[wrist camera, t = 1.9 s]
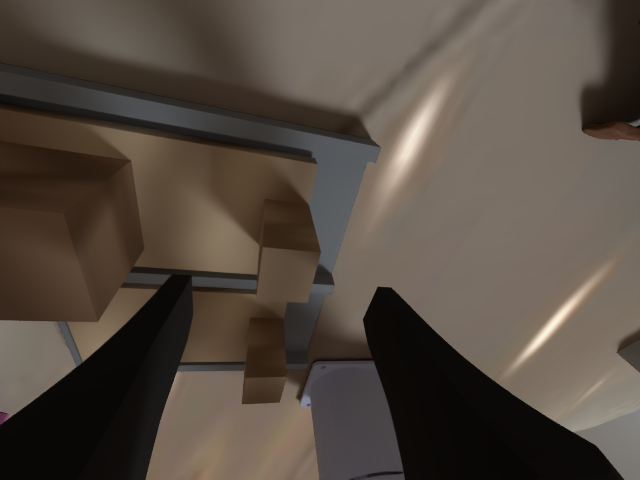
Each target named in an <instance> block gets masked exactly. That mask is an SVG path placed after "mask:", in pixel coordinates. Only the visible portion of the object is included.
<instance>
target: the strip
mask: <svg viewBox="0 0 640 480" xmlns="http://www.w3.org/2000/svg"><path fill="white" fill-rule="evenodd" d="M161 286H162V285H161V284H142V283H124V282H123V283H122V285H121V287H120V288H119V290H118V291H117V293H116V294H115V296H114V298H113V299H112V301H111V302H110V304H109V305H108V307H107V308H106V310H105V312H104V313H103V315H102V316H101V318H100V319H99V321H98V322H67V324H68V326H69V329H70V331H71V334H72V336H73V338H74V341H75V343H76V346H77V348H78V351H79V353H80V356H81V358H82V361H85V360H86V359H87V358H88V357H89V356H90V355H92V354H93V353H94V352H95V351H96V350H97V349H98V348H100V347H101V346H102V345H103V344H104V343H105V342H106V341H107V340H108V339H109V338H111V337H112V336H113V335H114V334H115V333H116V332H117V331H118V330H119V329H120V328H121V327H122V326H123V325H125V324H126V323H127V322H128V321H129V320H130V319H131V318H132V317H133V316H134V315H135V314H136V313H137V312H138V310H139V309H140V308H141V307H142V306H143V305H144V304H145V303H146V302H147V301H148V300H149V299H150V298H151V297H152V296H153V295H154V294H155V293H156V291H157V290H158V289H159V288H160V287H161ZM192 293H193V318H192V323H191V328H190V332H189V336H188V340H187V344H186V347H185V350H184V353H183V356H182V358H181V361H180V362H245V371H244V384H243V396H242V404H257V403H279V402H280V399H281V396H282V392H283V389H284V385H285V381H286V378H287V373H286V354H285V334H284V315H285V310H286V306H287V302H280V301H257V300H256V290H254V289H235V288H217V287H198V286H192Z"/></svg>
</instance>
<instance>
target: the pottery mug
mask: <svg viewBox="0 0 640 480" xmlns="http://www.w3.org/2000/svg"><path fill="white" fill-rule="evenodd" d="M639 25H640V21H639ZM582 131H583V132H584V133H586V134H588V135H590V136H592V137H596V138H600V139H615V140H618V139H626V140H639V141H640V125H639V126H637V127H634V126H632V125H629V124H626V123H624V122H622V121H619V120H614V121H610V122H607V123H605V124H603V125H602V124H587V125H585V126H584V127H583V128H582Z"/></svg>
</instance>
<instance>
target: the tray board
mask: <svg viewBox="0 0 640 480" xmlns="http://www.w3.org/2000/svg"><path fill="white" fill-rule="evenodd" d="M0 102H4V103H10V104H16V105H21V106H27V107H32V108H38V109H44V110H49V111H55V112H60V113H66V114H71V115H77V116H83V117H88V118H94V119H99V120H105V121H111V122H116V123H122V124H127V125H133V126H139V127H144V128H150V129H155V130H161V131H166V132H172V133H178V134H183V135H189V136H194V137H200V138H206V139H211V140H217V141H222V142H228V143H234V144H239V145H245V146H250V147H256V148H262V149H267V150H273V151H278V152H284V153H289V154H295V155H301V156H306V157H312V158H315V159H316V161H317V163H318V166H317V171H316V175H315V180H314V184H313V189H312V193H311V198H310V202H309V207H310V211H311V215H312V219H313V223H314V227H315V230H316V234H317V238H318V242H319V246H320V250H321V255H320V258H319V262H318V266H317V269H316V273H315V277H314V280H313V284H312V287H311V291H310V295H309V298H308V302H307V303H302V302H287V306H286V310H285V315H284V334H285V354H286V370H292V369H307V366H308V358H307V349H308V346H309V343H310V340H311V337H312V334H313V330H314V327H315V324H316V321H317V318H318V315H319V312H320V308H321V305H322V302H323V299H324V296H325V293H329V294H332V292H333V289H334V286H335V285H334V281H333V277H332V271H333V268H334V264H335V261H336V258H337V255H338V252H339V249H340V246H341V242H342V239H343V236H344V233H345V230H346V227H347V224H348V220H349V217H350V214H351V211H352V208H353V205H354V202H355V198H356V195H357V192H358V189H359V186H360V183H361V180H362V176H363V173H364V170H365V167H366V164H367V161H369V162H374V163H376V161H377V158H378V155H379V152H380V149H381V147H380V146H379V145H378V144H376V143H375V142H374V141H373V140H371V139H366V138H361V137H356V136H351V135H347V134H342V133H337V132H332V131H327V130H322V129H317V128H313V127H308V126H303V125H298V124H293V123H288V122H284V121H279V120H274V119H269V118H264V117H259V116H255V115H250V114H245V113H240V112H235V111H230V110H226V109H221V108H216V107H211V106H206V105H201V104H197V103H192V102H187V101H182V100H177V99H172V98H168V97H163V96H158V95H153V94H148V93H143V92H139V91H134V90H129V89H124V88H119V87H114V86H110V85H105V84H100V83H95V82H90V81H85V80H81V79H76V78H71V77H66V76H61V75H56V74H52V73H47V72H42V71H37V70H32V69H27V68H23V67H18V66H13V65H8V64H3V63H0ZM172 274H179V275H192V286H198V287H217V288H235V289H254V290H256V289H257V275H255V274H240V273H225V272H211V271H196V270H181V269H166V268H151V267H136V266H133V268H132V269H131V271H130V272H129V274H128V276H127V277H126V279H125V280H124V283H142V284H161V285H163V284H164V282H165V281H166V280H167V279H168V278H169V277H170V276H171V275H172ZM57 322H58V325H59V327H60V329H61V332H62V334H63V336H64V339H65V341H66V343H67V345H68V348H69V350H70V352H71V355H72V357H73V359H74V362H75V364H76V366H79V365H80V364H81V363H82V362H83V361H82V358H81V356H80V353H79V351H78V348H77V346H76V343H75V341H74V338H73V336H72V334H71V331H70V329H69V326H68V324H67V322H65V321H57ZM235 370H245V362H180V364H179V367H178V370H177V371H235Z"/></svg>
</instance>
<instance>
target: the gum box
mask: <svg viewBox="0 0 640 480" xmlns="http://www.w3.org/2000/svg"><path fill="white" fill-rule="evenodd" d="M8 416H9V415H8V414H5V413H1V412H0V424H2V423H3V422H4V421H5V420H6V419H7V418H8Z"/></svg>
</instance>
